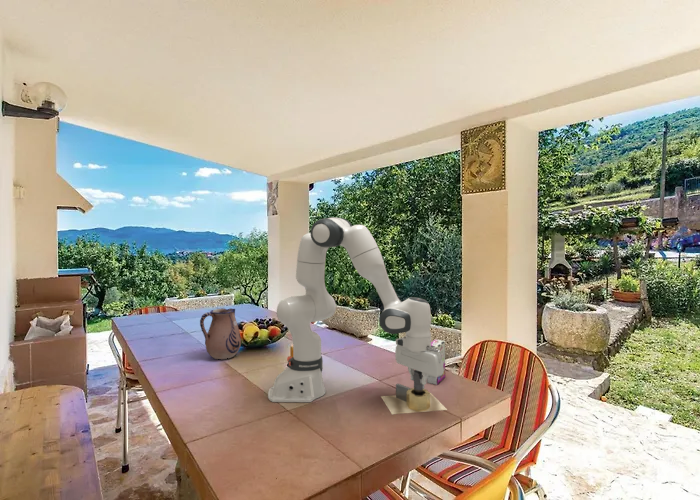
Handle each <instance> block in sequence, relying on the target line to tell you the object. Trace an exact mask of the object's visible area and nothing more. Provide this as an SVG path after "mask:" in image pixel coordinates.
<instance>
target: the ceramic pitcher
mask: <svg viewBox="0 0 700 500" xmlns="http://www.w3.org/2000/svg"><path fill="white" fill-rule="evenodd" d="M207 317H211V318H212V320H211V322H210V325H209V329H208V332H207V331H206V328H205V323H204V321H205V320H206V318H207ZM199 326H200V328H201V329H200V330H201V332H202V334H203V336H204V339H205V340H204V345H205V348H206V352H207V353H208V355H209V356H210V357H211V358H213V359H215V360H218V359H221V360H228V359H232V358H233V357H234V356H235V355H237V354H238V352H239V351H240V348H241V347H242V346H241V344H242V338H241V333H240V328H239V326H238V321H237V319H236V308H229V309H227V308H224V307H222V308H215V309H212V310H210V311H209V312H204V313H203V314H202V315H201V317H200V320H199ZM227 358H228V359H227Z"/></svg>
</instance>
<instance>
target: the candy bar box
mask: <svg viewBox="0 0 700 500" xmlns="http://www.w3.org/2000/svg"><path fill="white" fill-rule="evenodd" d="M431 347H433V348H437V349H438V350H439V351H440V352H441V354H442V361H443V371H444V372H443V374H442V375H441V376H439V377H434V376H431V375H429V376H428V378H427V379H426V384H430V385H434V386H435V385H436V386H438V385H439V384H440V383H441V382H442V381H443V380H444V379H445V378H446V341H445V340H441V339H434V340H433V341H432V340H431Z"/></svg>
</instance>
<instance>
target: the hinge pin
mask: <svg viewBox="0 0 700 500" xmlns="http://www.w3.org/2000/svg"><path fill="white" fill-rule="evenodd" d="M422 378H423V375H422V372H420V371H417V370H414V381H413V388H414V394H415V395H423V384H420V379H422Z"/></svg>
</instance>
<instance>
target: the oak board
mask: <svg viewBox="0 0 700 500" xmlns="http://www.w3.org/2000/svg"><path fill="white" fill-rule="evenodd" d="M429 393H430V408H429V409H428V410H426V411H415V410H412V409H409V408H408V406H407V402H405V401H403V400H401V399H398V398H396V394H395V395H381V396H380V398H381V399H382V400H383V403H384V404H385V405H386V407H387V409H388V410H389V412H390V414H391V415H401V414H412V413H414V414H416V413H423V412H424V413H425V412H426V413H427V412H439V411H448V408H446V407H445V405H444V404H443V403H441V402H440V400H439V399H438V398H436V396H434V394H433V393H431V392H429Z"/></svg>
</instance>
